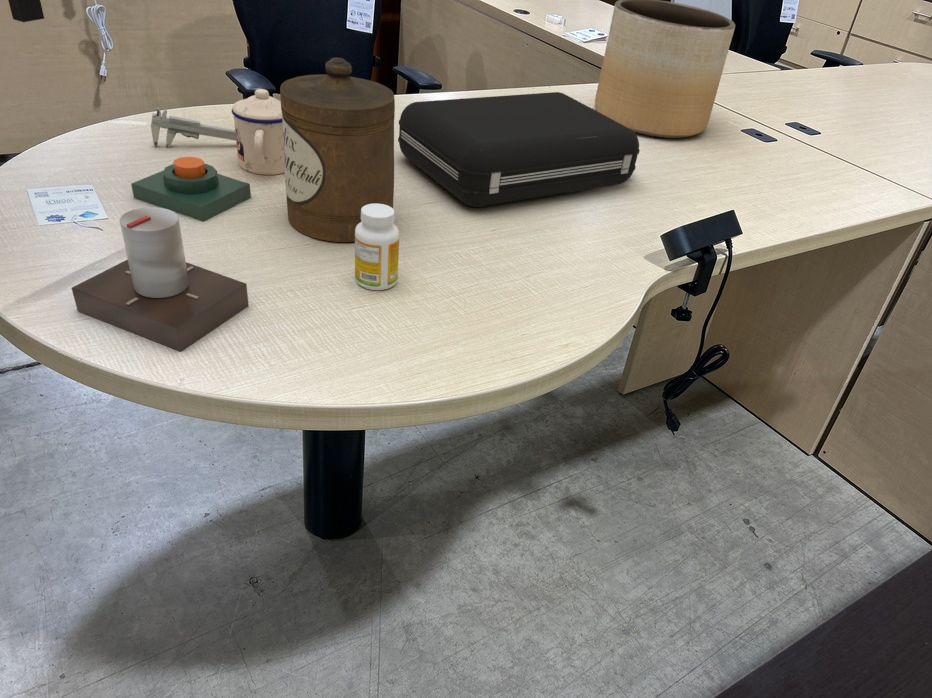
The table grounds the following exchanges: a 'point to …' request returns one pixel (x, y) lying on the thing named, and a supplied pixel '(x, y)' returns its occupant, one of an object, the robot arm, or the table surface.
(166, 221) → the dial
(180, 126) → the caliper
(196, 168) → the button
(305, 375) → the table surface
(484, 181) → the briefcase
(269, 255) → the table surface
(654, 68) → the planter
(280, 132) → the teacup with lid
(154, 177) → the button block
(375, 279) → the supplement bottle
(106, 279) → the brown rectangular base
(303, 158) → the wooden container
